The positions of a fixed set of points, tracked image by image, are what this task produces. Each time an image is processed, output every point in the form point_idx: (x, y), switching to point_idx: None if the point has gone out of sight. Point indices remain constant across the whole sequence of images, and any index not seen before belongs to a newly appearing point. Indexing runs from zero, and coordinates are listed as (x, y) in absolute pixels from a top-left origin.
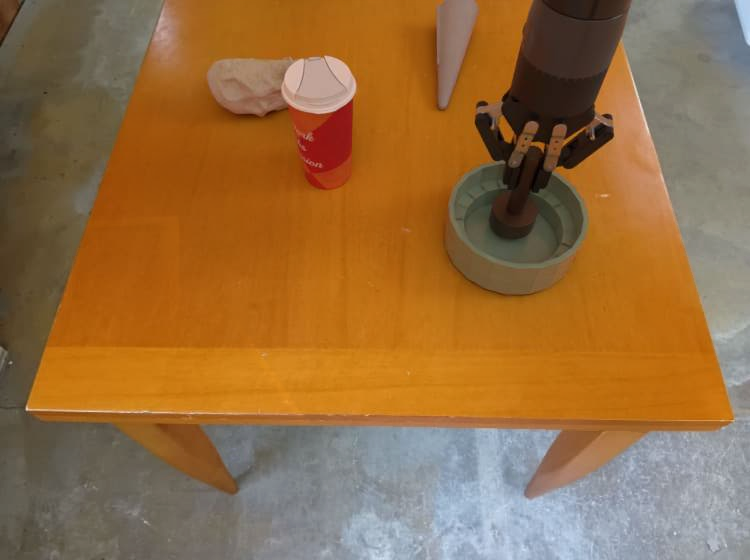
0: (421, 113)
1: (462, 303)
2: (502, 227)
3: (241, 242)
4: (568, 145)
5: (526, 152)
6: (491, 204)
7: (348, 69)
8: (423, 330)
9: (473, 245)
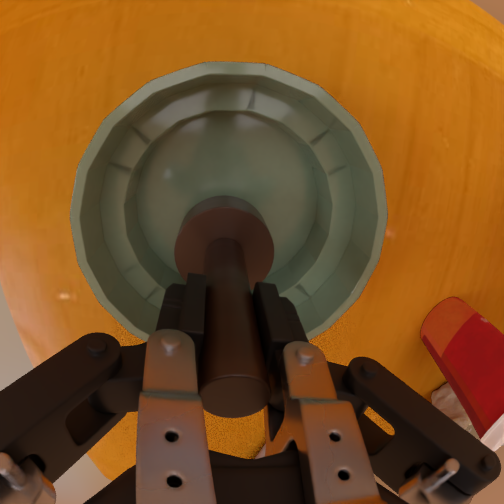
0: None
1: (329, 79)
2: (254, 212)
3: None
4: (109, 418)
5: (301, 407)
6: None
7: (494, 446)
8: (391, 49)
9: (356, 140)
